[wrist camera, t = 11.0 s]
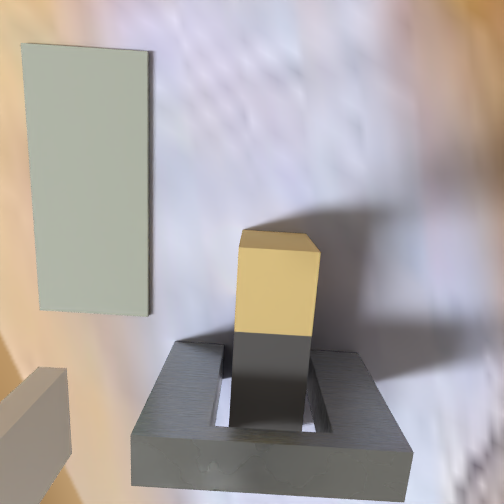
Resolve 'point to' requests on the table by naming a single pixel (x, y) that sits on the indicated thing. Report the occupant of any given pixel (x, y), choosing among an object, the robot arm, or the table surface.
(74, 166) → the mat
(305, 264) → the two-tone upright block
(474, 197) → the table surface
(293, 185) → the table surface
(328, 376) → the frame
